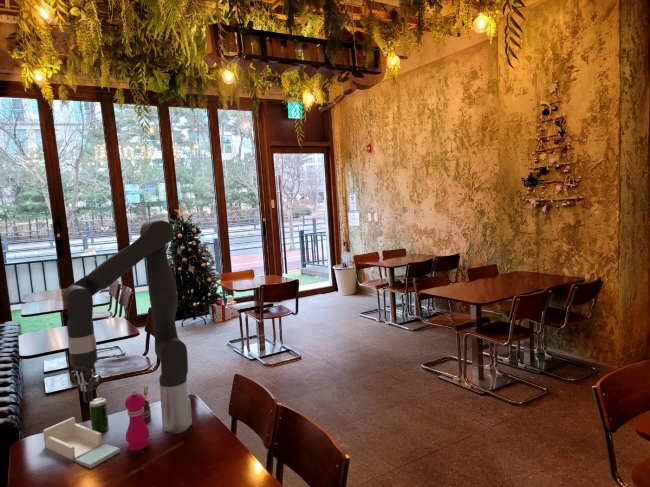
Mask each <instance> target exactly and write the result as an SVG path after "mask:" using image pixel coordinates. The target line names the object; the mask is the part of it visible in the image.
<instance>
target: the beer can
mask: <svg viewBox="0 0 650 487" xmlns="http://www.w3.org/2000/svg"><path fill="white" fill-rule="evenodd" d="M107 403H108V402H107V400H106V398H104V397H98V398H93V401H91V402H89V416H90V425H91V426H90V427H91V429H92V430H94V431H97V432H99V433H101V435H102V434H104V433H107V432H108V431H109V430H110V429H109V428H110V427H109V416H108V404H107Z"/></svg>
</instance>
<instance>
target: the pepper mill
mask: <svg viewBox="0 0 650 487" xmlns="http://www.w3.org/2000/svg"><path fill="white" fill-rule="evenodd" d="M144 403H145V396H144V394H141V393H138V391H137V390H136V389H132V390H131V392H130V394H129V396H127V397H126V398H125V401H124V406H125V408H126V409H127V410H126V412H127V416H128V418H129V423H128V427H127V430H126V431H125V432H126V433H125V441H126V442H127V443H128V445H127V448H128V450H129V451H139V450H142V449H145V448H146V447H147V446H148V445H149V440H148V438H149V436H150V430H149V428H148V426H147V423H145V422H144V420H143V412H144V407H143V405H144Z"/></svg>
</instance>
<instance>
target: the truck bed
mask: <svg viewBox="0 0 650 487" xmlns="http://www.w3.org/2000/svg"><path fill="white" fill-rule="evenodd" d="M43 439H44V440H43V441H44V442H43V443H44V447H45V449H48V450H50V451H52V452H54V453H56V454H59V455H60V456H62V457H65V458H67V459H68V460H71V461H72V460H73V459H74V458H76V457H78V456H80V455H82V454H83V453H85V452H87V451H89V450H91V449H93V448H95V447H97V446H99V445H101V444H103V443H102V441H103V439H102V434H101V433H99V432H97V431H94V430H92V428H89V427H87V426H83V425H82V424H79V423H77V422H76V418H75V417H74V416H72V417H70V418H68V419H65V420H63V421H61V422H59V423H57V424H54V425H51V426H50V427H46V428H45V429H43Z"/></svg>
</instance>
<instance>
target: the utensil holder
mask: <svg viewBox="0 0 650 487" xmlns="http://www.w3.org/2000/svg"><path fill="white" fill-rule="evenodd" d="M148 388H149V387H148V386H144V388H143V397H144V399H145V403H144V405H143V407H144V412H143V420H144V422H145V424H147V423H149V422H150V421H151V420H152V419H151V418H152V413H151V412H152V411H151V406H150V403H149V402H150V401H149V400H147V399H146V398H147V396H148V391H149V390H148Z"/></svg>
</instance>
